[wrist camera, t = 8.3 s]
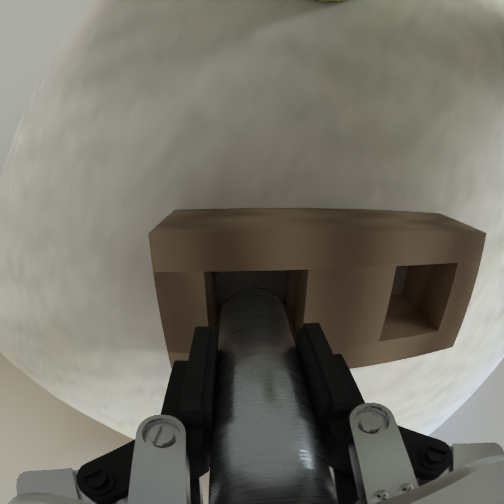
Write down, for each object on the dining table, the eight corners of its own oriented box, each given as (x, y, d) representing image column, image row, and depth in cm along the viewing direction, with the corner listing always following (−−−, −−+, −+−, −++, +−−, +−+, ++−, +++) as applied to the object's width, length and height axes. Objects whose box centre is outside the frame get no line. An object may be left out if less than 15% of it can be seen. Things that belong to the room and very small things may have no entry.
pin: (286, 286, 13) (361, 510, 3) (283, 340, 14) (327, 537, 4) (219, 288, 12) (197, 526, 3) (222, 342, 13) (215, 545, 4)
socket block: (439, 213, 17) (486, 233, 12) (419, 311, 19) (452, 346, 15) (174, 210, 16) (148, 233, 11) (186, 326, 19) (173, 376, 14)
